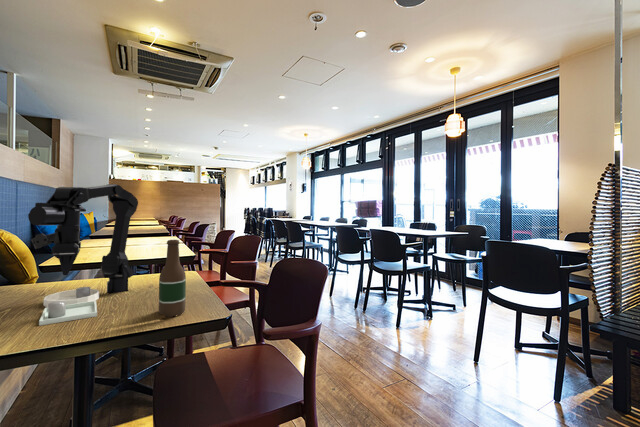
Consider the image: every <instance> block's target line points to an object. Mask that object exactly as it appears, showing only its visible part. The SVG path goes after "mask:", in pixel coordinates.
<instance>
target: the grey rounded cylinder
mask: <svg viewBox="0 0 640 427" xmlns="http://www.w3.org/2000/svg"><path fill="white" fill-rule="evenodd" d="M90 289H91V287H90V286H82V287H77V288H76V289H75V290H76V299H78V298H82V297H87V296H90Z"/></svg>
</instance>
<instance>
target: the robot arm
mask: <svg viewBox="0 0 640 427" xmlns="http://www.w3.org/2000/svg"><path fill="white" fill-rule="evenodd" d="M102 197H107V199H108V202H110V203H111V204H112V212H114V215H115V219H114V220H115V221H114V226H113V231H112V237H111V238H112V239H111V244H110V250H109V252H108V253H107V255H102V258H101V264H100V268H101V269H100V270H101V272H102V275H103V278H104V279H108V281H106V293H107V294H108V295H109V294H117V293H118V294H119V293H126V292H129V279H130V278H131V277H133V275H134V270H133V268H132V267H131V266H130V265H129V258H128V256H127V254H126V249H127V248H126V247H127V242H128V235H129V227H130V224H131V222H130V221H131V218H132V216H134V214H135V213H136V212H137V209H138V207H139V206H138V205H139V200H138V199H137V197H136V196H135V195H134V194H133V193H132V192H129V191H128V190H126V189H124V188H123V187H122V186H121V185H120V184H114V183H111V184H109V183H108V184H103V185H96V186H89V187H88V186H87V187H80V186H79V187H78V186H59V187H56V188H55V191H54V193H53V194H52V195H51V196H50V198H49V199H48V200H47V201H46V202H35V205H34V206H33V207H32V208H31V209H30V210H29V213H28V214H27V218H28V221H29V223H31V225H33V226H56V227H55V229H54V232H53V233H49V234H44V233H39V234H36V235H35V237H34V238H31V240H30V241H31V243H32V245H33V246H34V249H35V250H38V249H41V248H42V247H45V246H49V245H52V244H53V246H52V247H51V255H52V256H53V257H55V258H57V260H58V261H59V265H60V268H61V272H62V276H68V275H69V273H70V270H71V269H72V267H73V265H74V264H75V261H76V259H77V257H78V256H79V253H80V251H81V247H82V241H80V231H81V228H80V226H81V212H86V211H87V210H86V208H84V207H83V205H82V204H83V203H87V202H88V201H89V200H91V199H96V198H102Z"/></svg>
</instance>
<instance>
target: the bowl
mask: <svg viewBox="0 0 640 427" xmlns="http://www.w3.org/2000/svg"><path fill="white" fill-rule="evenodd" d="M99 299H100V290H98V289H96V288H95V289H94V288H90V296H87V297H82V298H78V299H76V289H69V290H63V291H58V292H55V293H50V294H48V295H46V296H44V297H43V307H45V308H48V304H49V303H51V302H56V301H66V305H69V304H77V303H84V302H91V301H96V302H97V301H98V300H99Z"/></svg>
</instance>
